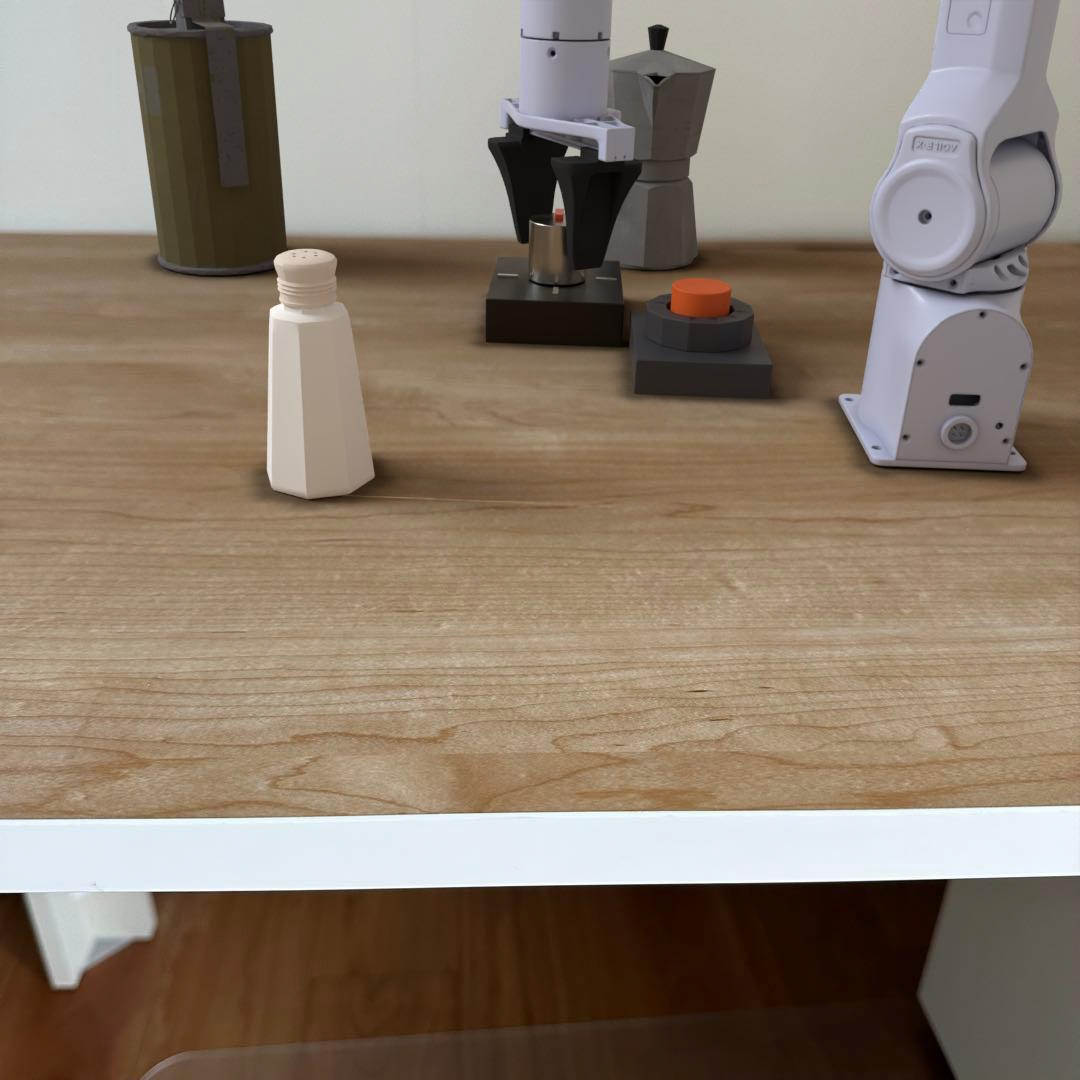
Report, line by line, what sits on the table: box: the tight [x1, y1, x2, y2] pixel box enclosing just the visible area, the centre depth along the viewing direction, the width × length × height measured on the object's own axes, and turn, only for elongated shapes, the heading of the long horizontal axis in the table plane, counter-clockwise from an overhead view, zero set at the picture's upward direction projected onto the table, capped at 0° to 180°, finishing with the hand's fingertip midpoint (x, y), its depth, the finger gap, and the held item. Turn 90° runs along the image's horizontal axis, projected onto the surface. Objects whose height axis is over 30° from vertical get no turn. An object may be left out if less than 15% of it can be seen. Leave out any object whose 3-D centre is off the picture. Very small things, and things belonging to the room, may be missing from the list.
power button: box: [670, 277, 733, 318], centre depth 70 cm, size 4×4×2 cm
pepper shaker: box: [266, 248, 376, 500], centre depth 54 cm, size 5×5×11 cm
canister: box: [126, 0, 290, 277], centre depth 87 cm, size 11×10×20 cm
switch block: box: [627, 293, 774, 400], centre depth 71 cm, size 10×8×4 cm
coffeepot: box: [604, 23, 717, 271], centre depth 93 cm, size 15×9×18 cm, turn 176°
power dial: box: [527, 208, 586, 286], centre depth 78 cm, size 4×4×4 cm
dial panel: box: [485, 256, 625, 348], centre depth 79 cm, size 11×9×3 cm
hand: (558, 254), depth 78 cm, fingers open, 7 cm apart
